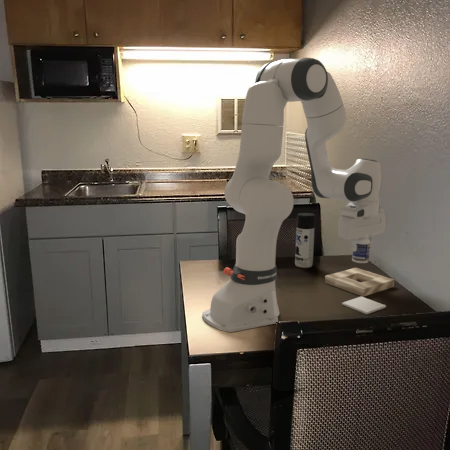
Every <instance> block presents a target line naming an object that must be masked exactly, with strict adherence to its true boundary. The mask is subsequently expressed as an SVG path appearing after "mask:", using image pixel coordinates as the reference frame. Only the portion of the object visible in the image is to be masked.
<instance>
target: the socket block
mask: <svg viewBox="0 0 450 450" xmlns="http://www.w3.org/2000/svg"><path fill="white" fill-rule="evenodd" d="M324 283H325V284H328V285H331V286H333V287H336V288H338V289H341V290H343V291H346V292H348V293H349V292H350V293H352V294H355V295H357V296H359V297H361V296H362V297H364V298H365V297H367V296H369V295H372V294H376V293H379V292H382V291H386V290H388V289H391V288H394V286H395V279H394V278H390V277H387V276H385V275H380V274H378V273H374V272H372V271H368V270H364V269H361V268H359V267H352V268H350V269H349V268H348V269H346V270H342V271H338V272H335V273H330V274H327V275H325V276H324Z"/></svg>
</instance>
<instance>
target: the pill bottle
mask: <svg viewBox="0 0 450 450" xmlns="http://www.w3.org/2000/svg"><path fill="white" fill-rule="evenodd" d="M356 245H357V246H358V251H355V252H354V251H352V254H351V256H352V257H351V261H352V262H354V263H358V264H367V263H369V260H370V249H371V248H370V240H369V239H368V234H366V235H365V237H362V238H357V242H356Z"/></svg>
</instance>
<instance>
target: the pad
mask: <svg viewBox="0 0 450 450" xmlns="http://www.w3.org/2000/svg"><path fill="white" fill-rule="evenodd" d="M341 305H342V306H345V307H348V308H350V309H353V310H354V311H357V312H358V313H359V312H360V313H362V314H364V315H369V314H371V313H374V312H377V311H380V310H383V309H385V308H386V307H387V305H386V304H382V303H380V302H377V301H375V300H372V299H369V298H366V297H365V296H364V297H362V296H358V297H355V298H352V299H349V300H346V301H344V302H341Z"/></svg>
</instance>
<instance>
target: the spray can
mask: <svg viewBox="0 0 450 450" xmlns="http://www.w3.org/2000/svg"><path fill="white" fill-rule="evenodd" d="M296 218H297V219H296V234H295V257H294V258H295V259H294V264H295V265H294V266H296V267H297V268H302V269H309V268H312V267H313V263H314V262H313V261H314V247H315V246H314V245H315V227H316V226H315V225H316V224H315V223H316V214H315V213H311V212H299V213H297V215H296Z"/></svg>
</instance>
